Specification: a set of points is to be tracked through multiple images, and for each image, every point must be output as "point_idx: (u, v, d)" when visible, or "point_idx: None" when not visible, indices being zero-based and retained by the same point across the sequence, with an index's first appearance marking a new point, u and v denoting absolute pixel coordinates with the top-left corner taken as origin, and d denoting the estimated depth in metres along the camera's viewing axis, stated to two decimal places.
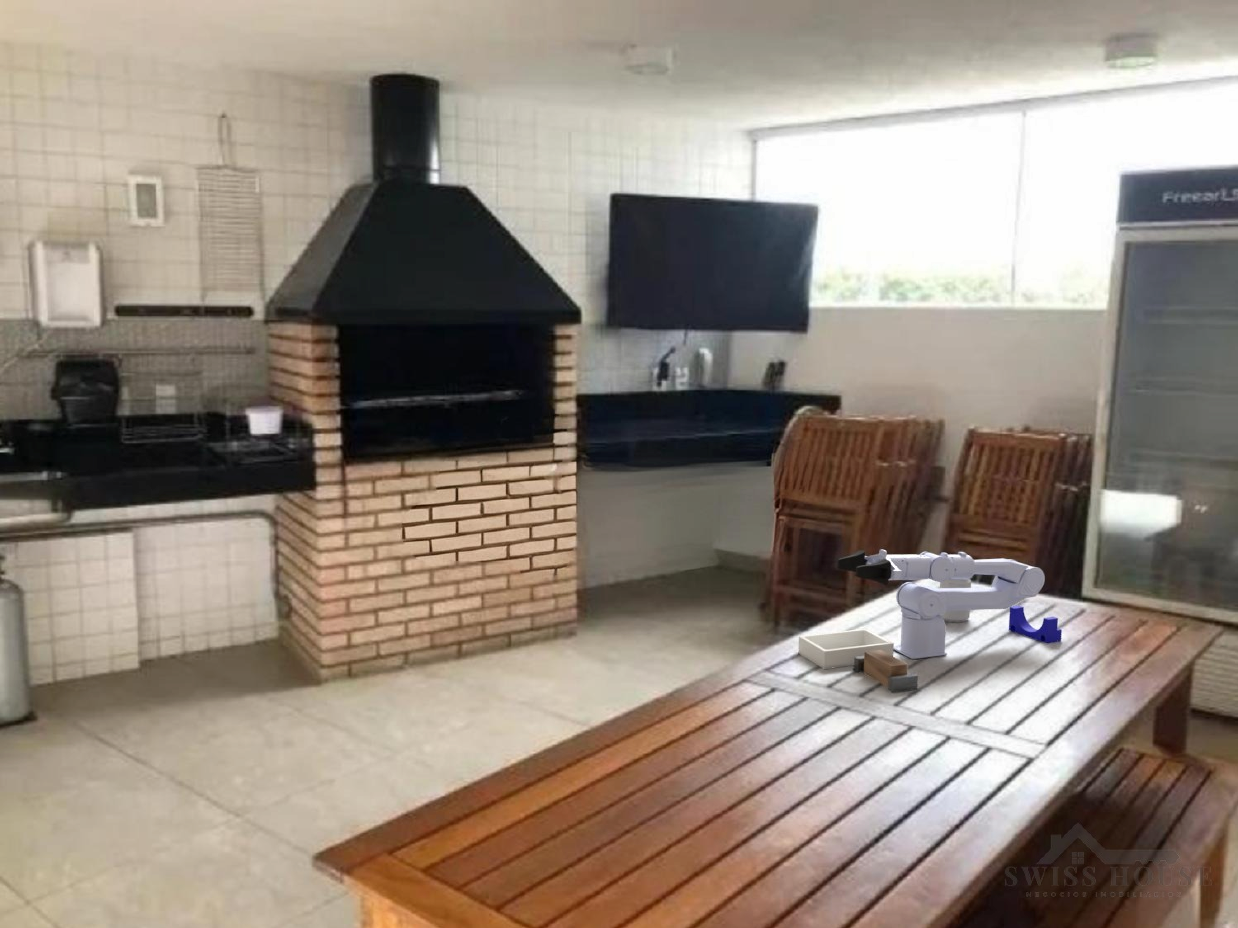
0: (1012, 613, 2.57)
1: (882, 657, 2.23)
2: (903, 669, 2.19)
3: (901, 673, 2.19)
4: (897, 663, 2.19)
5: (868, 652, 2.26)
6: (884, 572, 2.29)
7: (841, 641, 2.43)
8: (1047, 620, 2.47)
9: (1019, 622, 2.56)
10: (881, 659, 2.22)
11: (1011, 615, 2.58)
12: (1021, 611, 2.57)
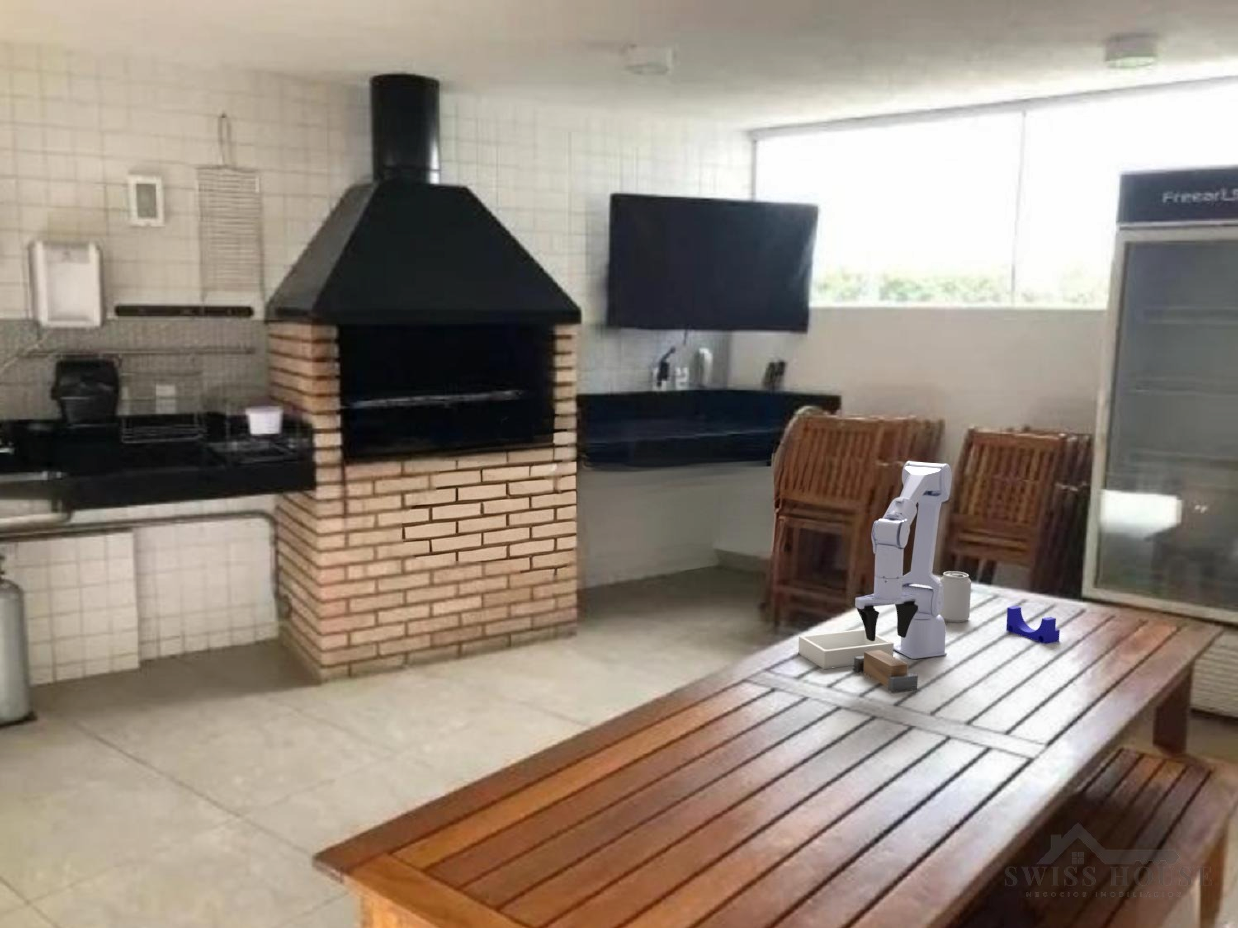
0: (1010, 613, 2.57)
1: (882, 657, 2.23)
2: (903, 669, 2.19)
3: (901, 673, 2.19)
4: (897, 662, 2.19)
5: (868, 652, 2.26)
6: None
7: (841, 641, 2.43)
8: (1045, 620, 2.47)
9: (1017, 622, 2.56)
10: (881, 659, 2.22)
11: (1009, 615, 2.57)
12: (1019, 611, 2.57)
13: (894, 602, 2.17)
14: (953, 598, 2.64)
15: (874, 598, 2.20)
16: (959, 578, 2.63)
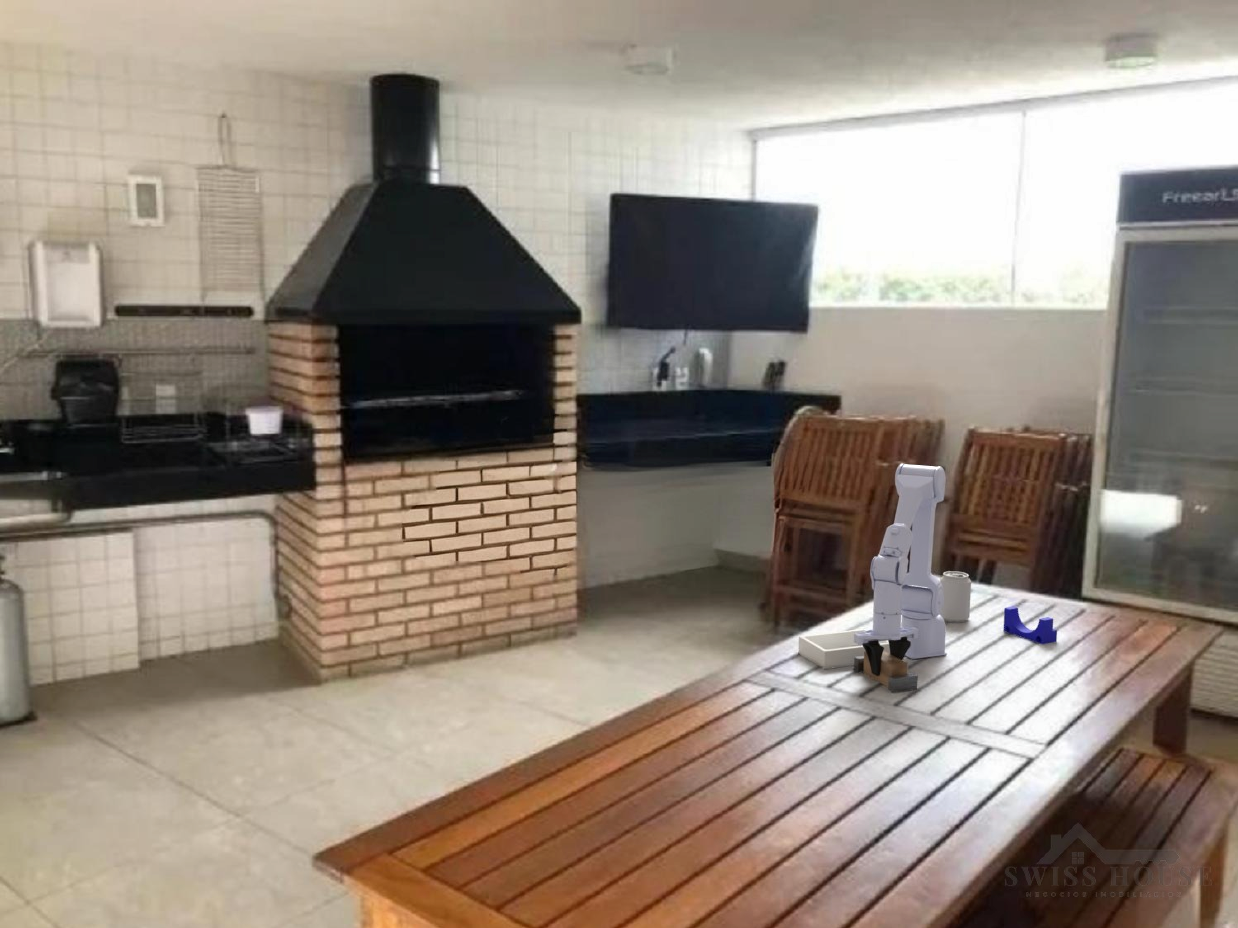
0: (1007, 614, 2.56)
1: (882, 656, 2.23)
2: (903, 668, 2.19)
3: (901, 672, 2.19)
4: (897, 662, 2.19)
5: None
6: None
7: (841, 641, 2.43)
8: (1043, 621, 2.47)
9: (1014, 623, 2.55)
10: (881, 658, 2.22)
11: (1006, 616, 2.57)
12: (1016, 611, 2.57)
13: (893, 638, 2.18)
14: (953, 598, 2.64)
15: (873, 634, 2.21)
16: (959, 578, 2.63)
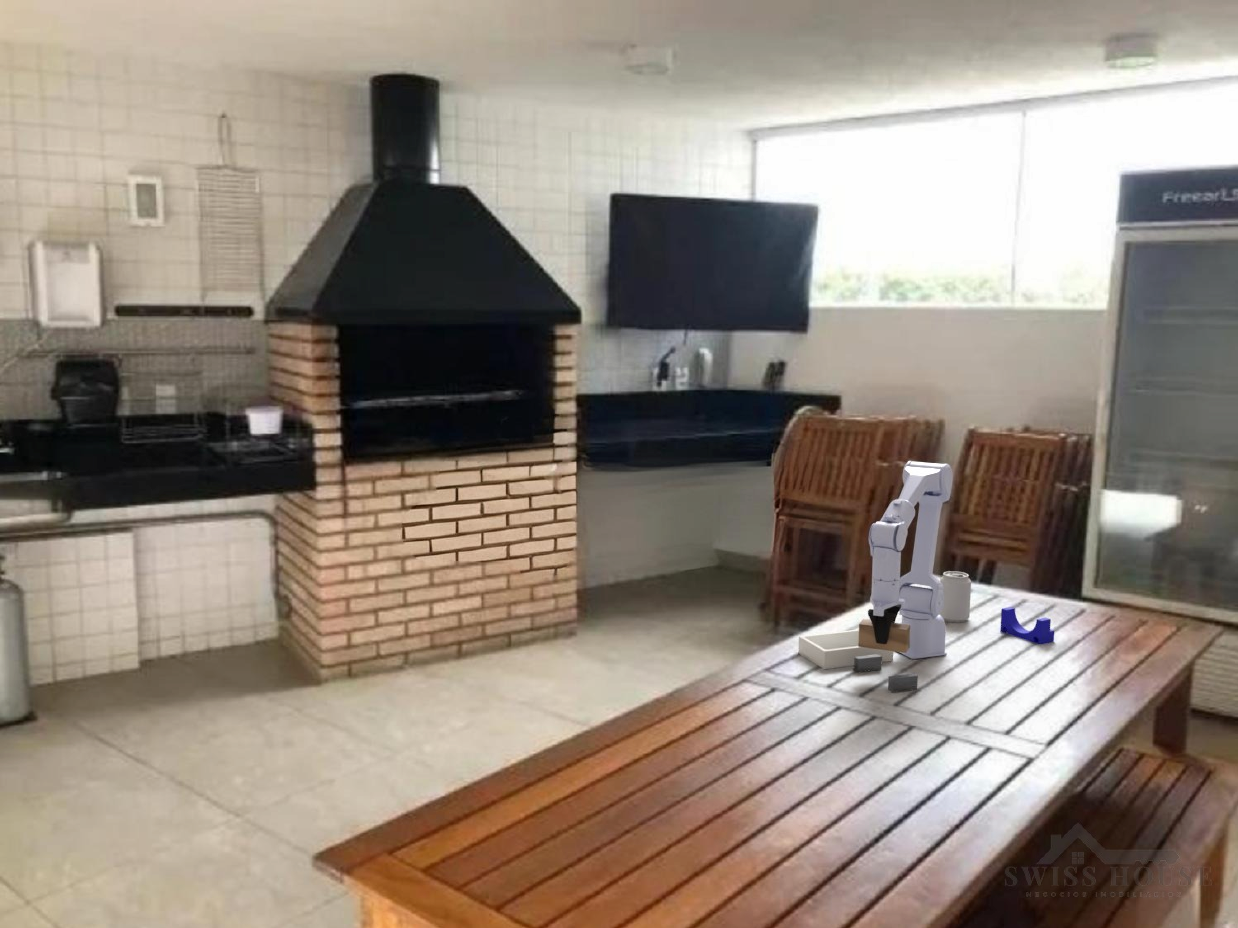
0: (1004, 614, 2.56)
1: None
2: (909, 630, 2.22)
3: (908, 635, 2.21)
4: (902, 625, 2.21)
5: (862, 623, 2.23)
6: None
7: (841, 641, 2.43)
8: (1040, 621, 2.47)
9: (1011, 623, 2.55)
10: None
11: (1003, 617, 2.56)
12: (1013, 612, 2.56)
13: (902, 603, 2.20)
14: (953, 598, 2.64)
15: (882, 603, 2.19)
16: (959, 578, 2.63)
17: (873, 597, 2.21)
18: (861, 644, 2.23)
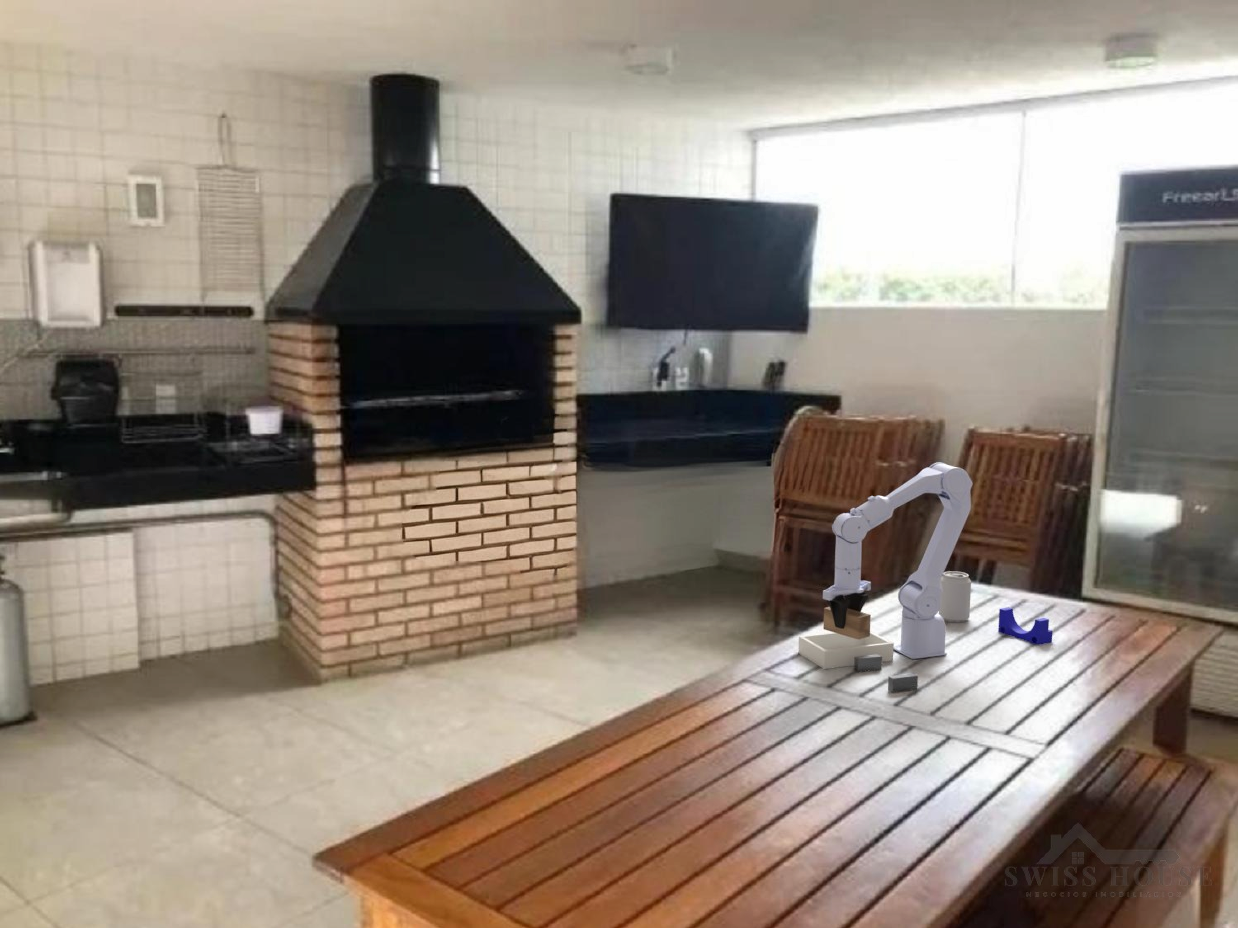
0: (1002, 615, 2.56)
1: None
2: (867, 619, 2.34)
3: (866, 623, 2.34)
4: (861, 614, 2.34)
5: (827, 608, 2.39)
6: None
7: (841, 641, 2.43)
8: (1039, 621, 2.46)
9: (1009, 624, 2.55)
10: None
11: (1001, 617, 2.56)
12: (1011, 612, 2.56)
13: (858, 591, 2.33)
14: (953, 598, 2.64)
15: (838, 589, 2.34)
16: (959, 578, 2.63)
17: None
18: (825, 627, 2.40)
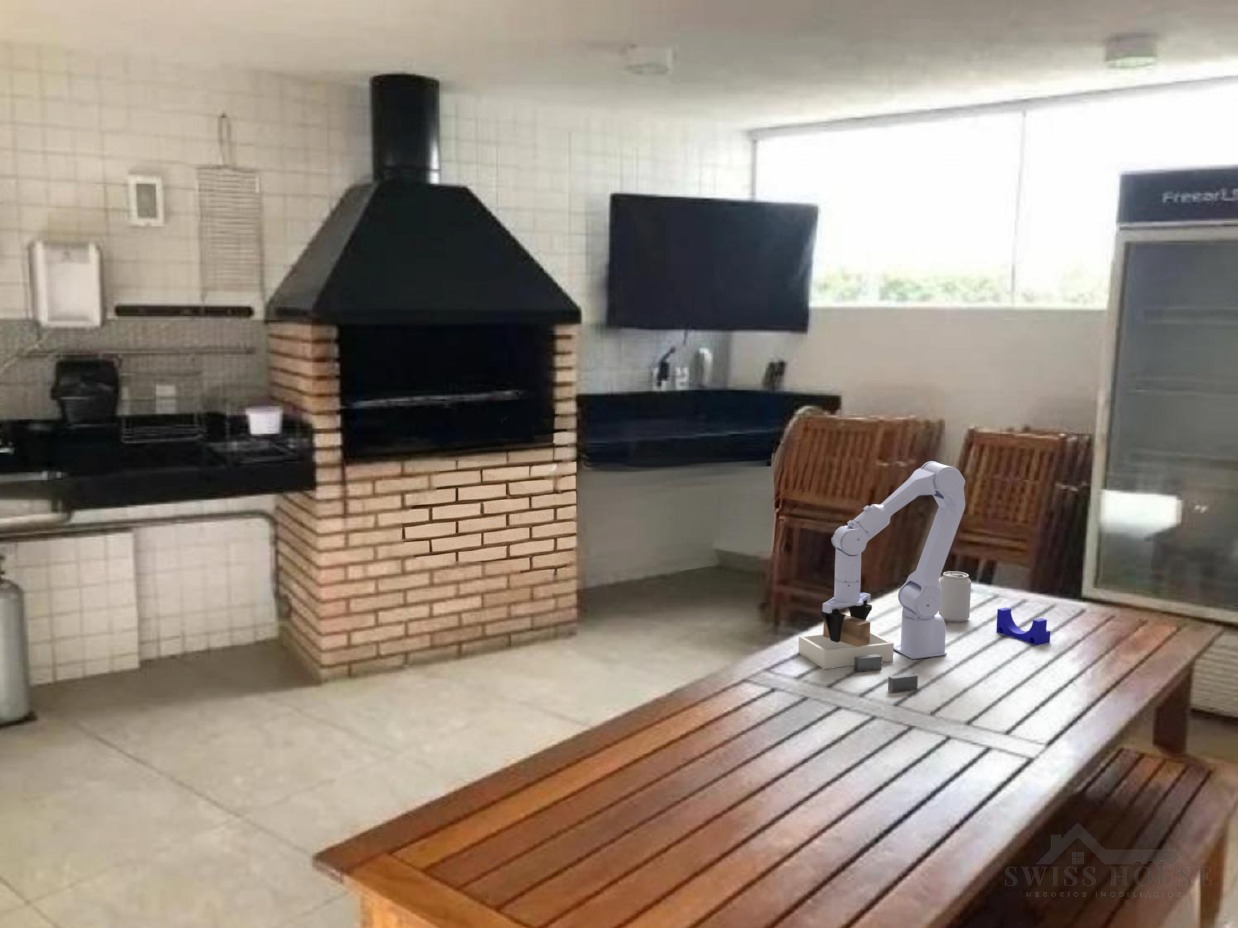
0: (1000, 615, 2.56)
1: None
2: (867, 627, 2.34)
3: (866, 631, 2.34)
4: (861, 621, 2.34)
5: None
6: None
7: None
8: (1037, 622, 2.46)
9: (1007, 624, 2.54)
10: (844, 620, 2.36)
11: (999, 617, 2.56)
12: (1009, 613, 2.56)
13: (858, 604, 2.33)
14: (953, 598, 2.64)
15: (838, 602, 2.34)
16: (959, 578, 2.63)
17: (834, 596, 2.37)
18: (825, 634, 2.40)
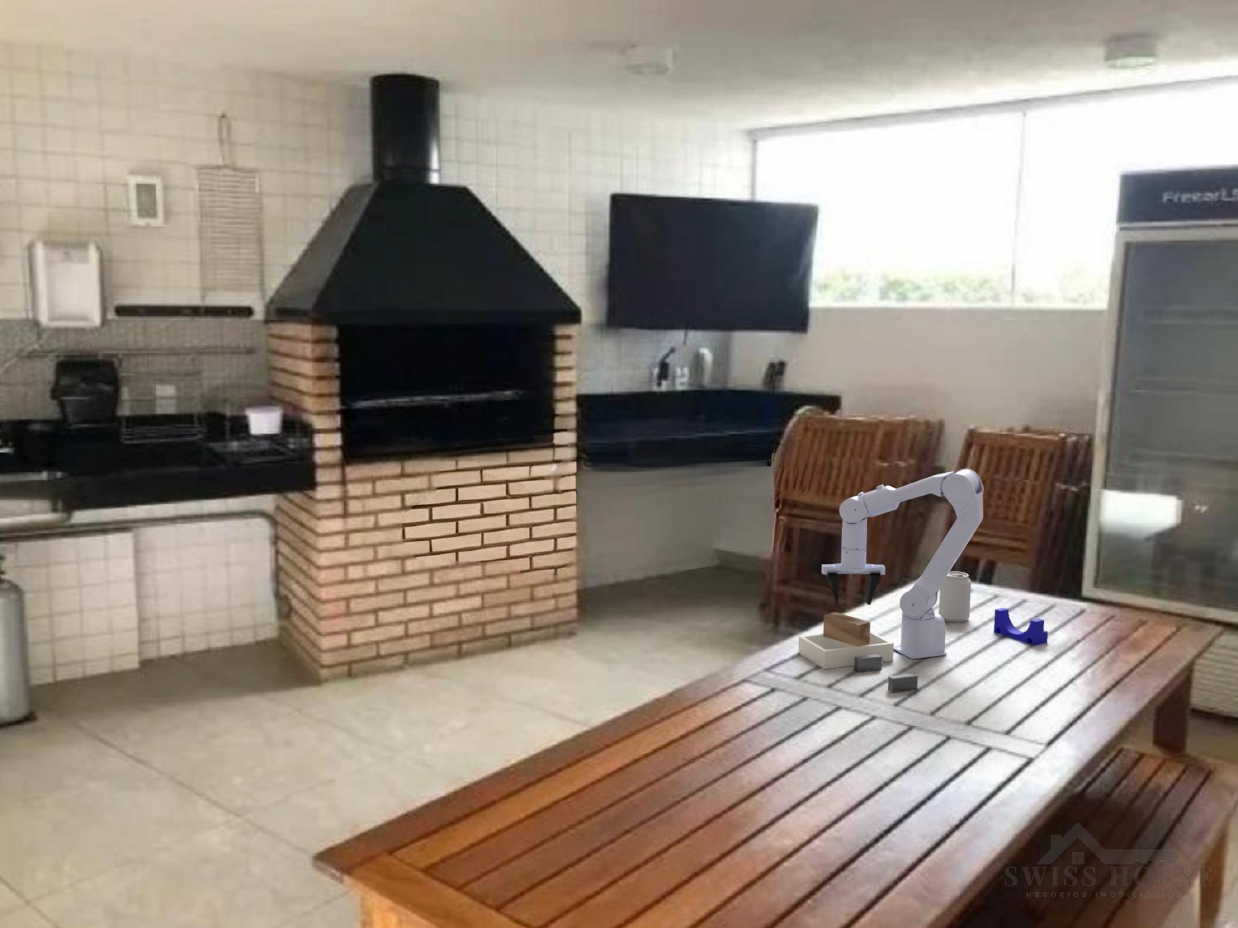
0: (997, 615, 2.55)
1: (843, 618, 2.37)
2: (867, 627, 2.34)
3: (866, 631, 2.34)
4: (861, 621, 2.34)
5: (827, 615, 2.39)
6: None
7: None
8: (1034, 622, 2.46)
9: (1005, 624, 2.54)
10: (844, 620, 2.36)
11: (996, 617, 2.56)
12: (1006, 613, 2.56)
13: (852, 571, 2.43)
14: (953, 598, 2.64)
15: (839, 566, 2.46)
16: (959, 578, 2.63)
17: None
18: (825, 634, 2.40)
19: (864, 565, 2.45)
